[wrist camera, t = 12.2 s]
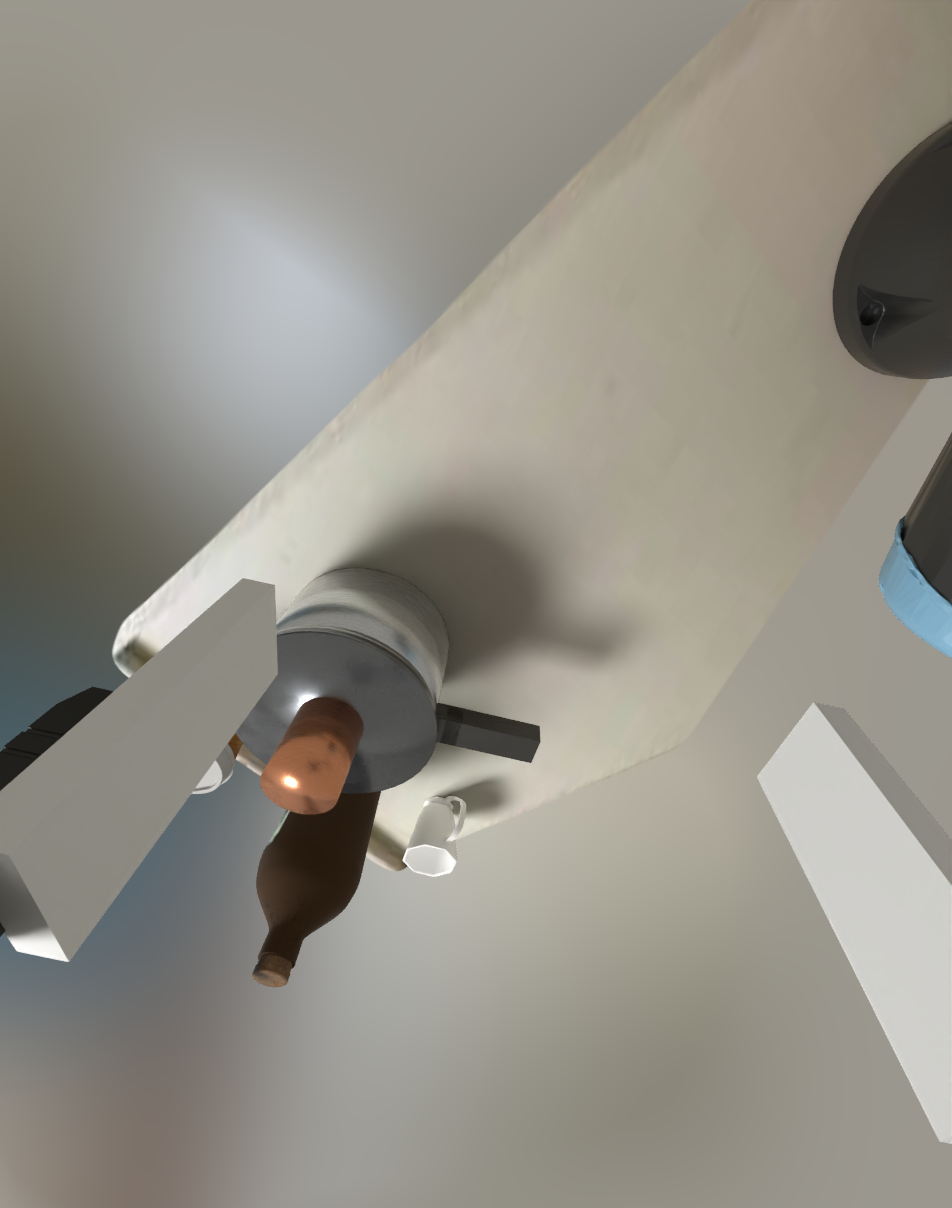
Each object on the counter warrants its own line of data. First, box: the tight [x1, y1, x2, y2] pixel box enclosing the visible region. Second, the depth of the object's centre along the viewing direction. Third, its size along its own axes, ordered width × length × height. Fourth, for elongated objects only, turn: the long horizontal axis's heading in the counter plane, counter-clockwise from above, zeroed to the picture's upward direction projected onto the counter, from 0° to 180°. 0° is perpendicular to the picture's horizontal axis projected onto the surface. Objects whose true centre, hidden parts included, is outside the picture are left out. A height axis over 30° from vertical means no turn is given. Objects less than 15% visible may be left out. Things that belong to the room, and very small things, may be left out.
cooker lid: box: [236, 627, 438, 815], centre depth 40 cm, size 19×19×8 cm
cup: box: [403, 796, 467, 877], centre depth 63 cm, size 7×10×8 cm
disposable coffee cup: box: [191, 733, 243, 794], centre depth 53 cm, size 10×10×12 cm
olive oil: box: [252, 791, 381, 987], centre depth 53 cm, size 11×11×25 cm
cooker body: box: [276, 568, 540, 763], centre depth 48 cm, size 28×19×12 cm, turn 77°
